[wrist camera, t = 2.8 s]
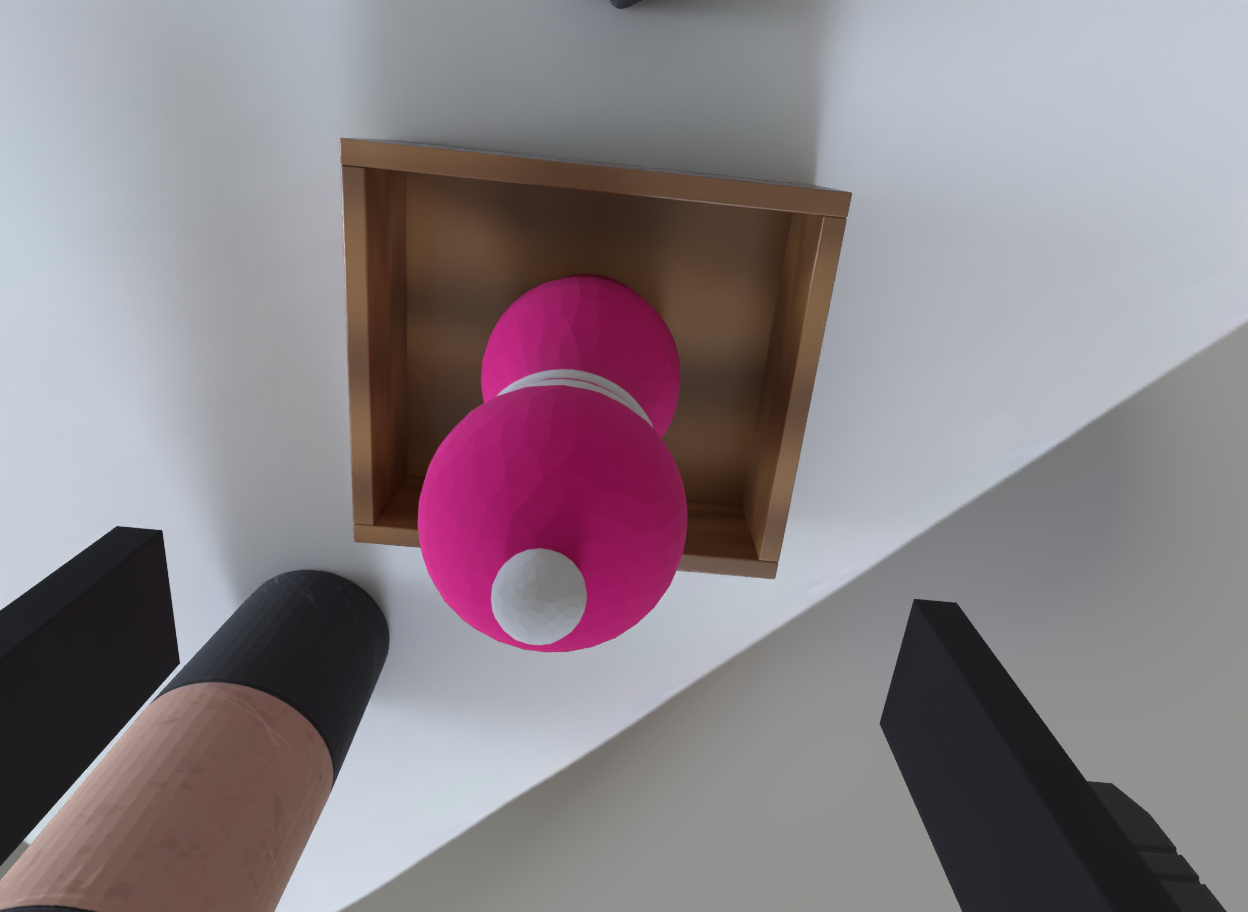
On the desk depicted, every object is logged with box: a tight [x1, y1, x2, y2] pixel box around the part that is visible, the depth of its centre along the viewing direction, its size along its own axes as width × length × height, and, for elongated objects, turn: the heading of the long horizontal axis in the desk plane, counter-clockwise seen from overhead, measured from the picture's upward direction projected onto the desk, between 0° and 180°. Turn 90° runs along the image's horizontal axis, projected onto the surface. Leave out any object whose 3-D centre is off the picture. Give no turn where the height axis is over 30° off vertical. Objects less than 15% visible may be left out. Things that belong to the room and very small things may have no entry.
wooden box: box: [340, 138, 852, 579], centre depth 30 cm, size 15×17×5 cm
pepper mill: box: [418, 274, 687, 652], centre depth 23 cm, size 7×7×20 cm
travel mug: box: [0, 570, 389, 912], centre depth 28 cm, size 8×8×20 cm
